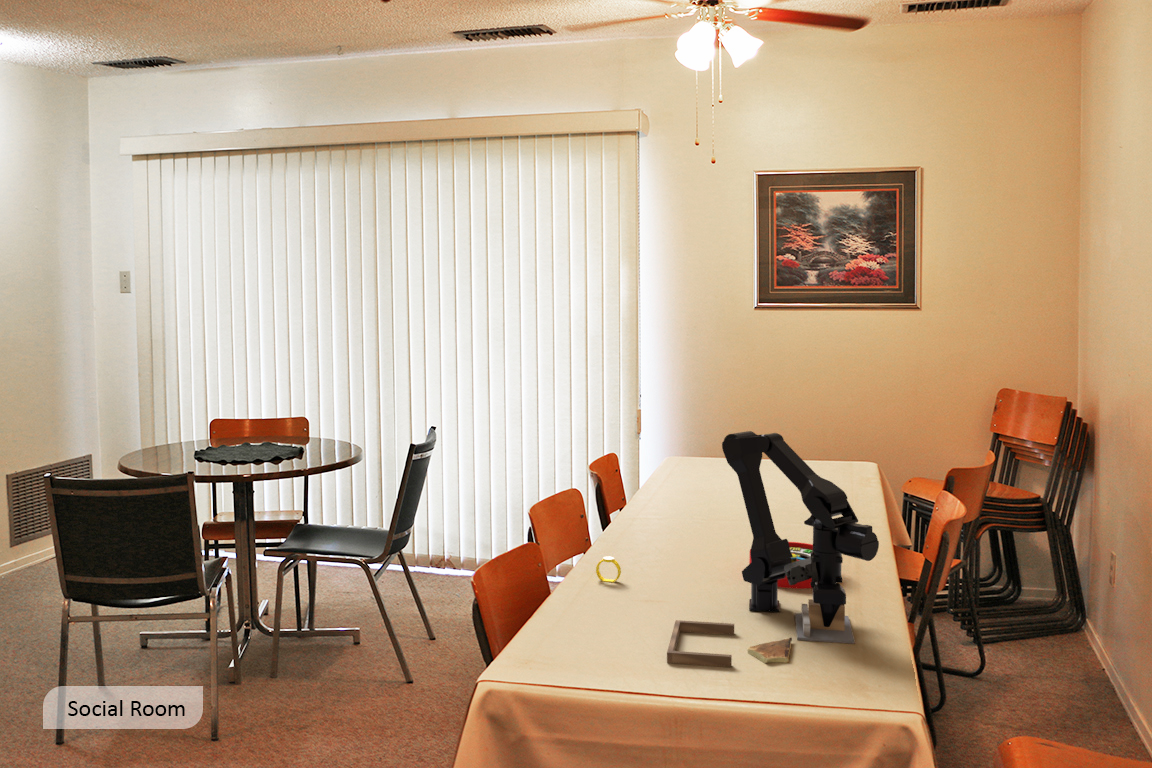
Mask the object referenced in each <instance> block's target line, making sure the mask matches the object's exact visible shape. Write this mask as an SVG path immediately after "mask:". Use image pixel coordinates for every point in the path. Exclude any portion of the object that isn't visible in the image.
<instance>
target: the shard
mask: <svg viewBox="0 0 1152 768" xmlns="http://www.w3.org/2000/svg"><path fill="white" fill-rule="evenodd" d="M792 639H793V638H792V637H789V638H786V639H780V640H775V641H770V642H769V641H768V642H764V643H761V644H756V645H752V646H749V647H748V648H747V649H746V650H747V654H749V655H751V656H752V657H755V658H756V659H758V660H759V661H760V662H762V663H764V664H768V663H789V661H790V659H789V658H790V657H789V656H790V651H791V647H792V645H791V643H792V641H793V640H792Z"/></svg>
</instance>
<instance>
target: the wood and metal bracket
mask: <svg viewBox="0 0 1152 768" xmlns="http://www.w3.org/2000/svg"><path fill="white" fill-rule="evenodd" d="M845 607H846V606H845V605H840V607H839V609H838V611H837V613H836V615H835V617H834V619H833V621H832V623H831V625H830V627H824V623H823V618H822V612H821V607H820V604H817V603H814V602H813V598H811V599H810V598H809V599H808V603H801V613H802V624H803V633H804V636H810V629H824V630H841V631H844V629H845V616H846V615H845V614H846V608H845Z"/></svg>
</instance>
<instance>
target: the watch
mask: <svg viewBox="0 0 1152 768" xmlns="http://www.w3.org/2000/svg"><path fill="white" fill-rule="evenodd" d="M603 562H604V563H612V564H614V566H615V567H616V569H617V575H616V578H615V579H609V578H605V577H603V575H601V571H600V566H601V564H602V563H603ZM595 573H596V575H597V577H598V579H599V580H600V582H604V583H605V582H606V583H615V582H617V581H618V580H619V579H620V577H621V574H622V567H621V565H620V564H619V562H618V561H617V560H616V559H615V557H613V556H611V555H610V556H603V557H602V559H601V560H599V561H598V563H597V565H596V566H595Z"/></svg>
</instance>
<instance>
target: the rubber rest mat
mask: <svg viewBox="0 0 1152 768" xmlns="http://www.w3.org/2000/svg"><path fill="white" fill-rule="evenodd" d="M794 616H795V617H794V618H795V629H796V638H797V641H810V642H824V643H840V644H841V643H844V644H855V642H856V641H855V637H854V634H853V629H852V625H851V622H850V618H849V617H850V616H849V615H845V629H844V631H841V630H824V629H810V636H804V633H803V624H802V612H795V613H794Z"/></svg>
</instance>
